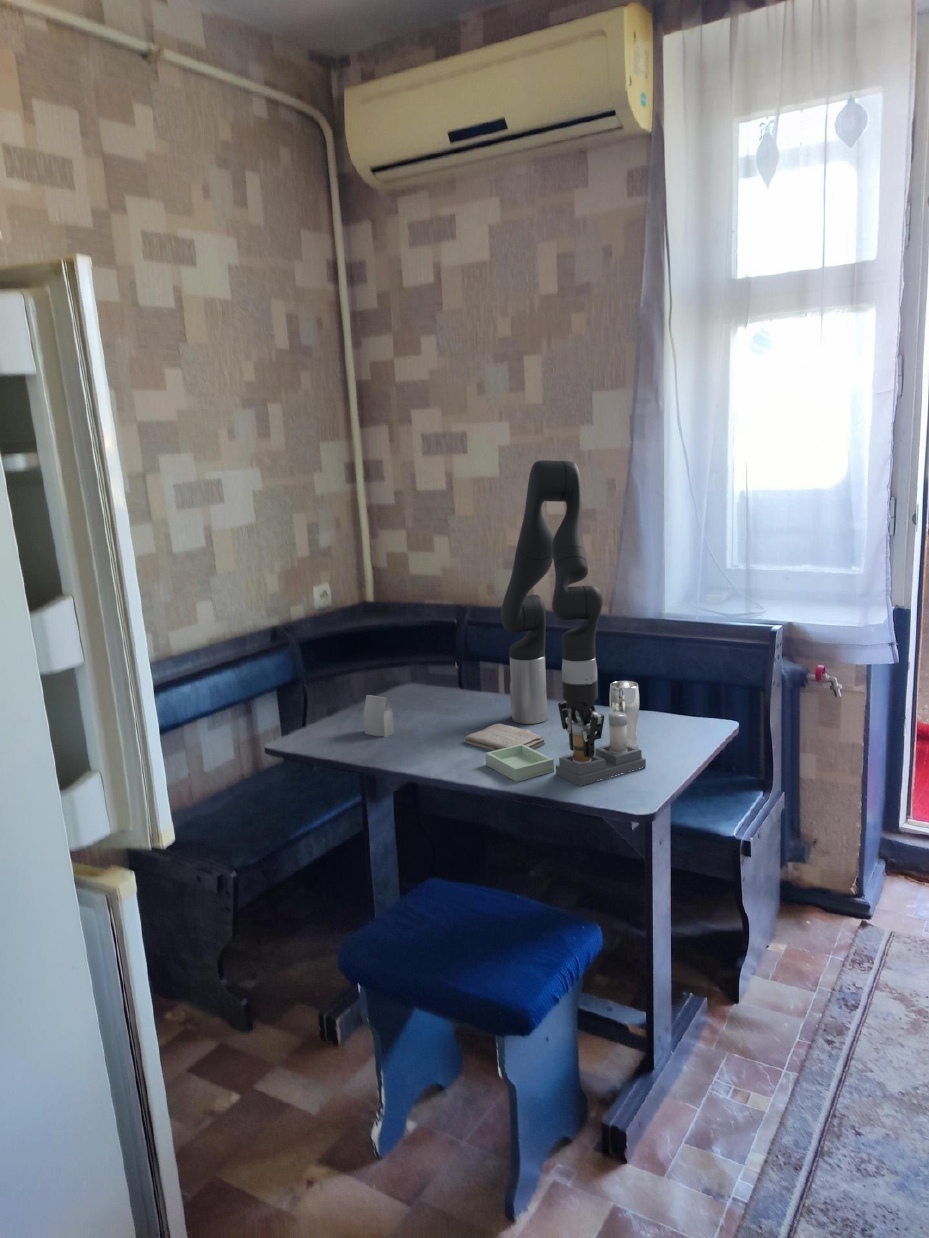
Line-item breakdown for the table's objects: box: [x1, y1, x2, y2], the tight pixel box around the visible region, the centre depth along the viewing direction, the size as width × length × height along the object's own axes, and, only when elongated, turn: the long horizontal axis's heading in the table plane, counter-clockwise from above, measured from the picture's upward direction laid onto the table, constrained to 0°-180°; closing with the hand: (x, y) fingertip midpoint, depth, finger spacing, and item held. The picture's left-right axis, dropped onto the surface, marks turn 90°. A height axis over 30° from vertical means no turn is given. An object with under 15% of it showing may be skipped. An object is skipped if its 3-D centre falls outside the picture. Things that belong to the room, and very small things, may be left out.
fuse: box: [608, 712, 628, 755], centre depth 202 cm, size 4×4×10 cm
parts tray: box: [485, 744, 555, 782], centre depth 206 cm, size 13×10×3 cm
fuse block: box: [555, 743, 647, 786], centre depth 201 cm, size 9×18×4 cm, turn 119°
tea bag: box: [362, 694, 395, 738], centre depth 235 cm, size 4×7×10 cm, turn 56°
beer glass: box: [609, 680, 640, 748], centre depth 216 cm, size 7×7×15 cm
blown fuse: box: [572, 722, 592, 765], centre depth 198 cm, size 4×4×10 cm
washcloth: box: [464, 723, 546, 751], centre depth 223 cm, size 12×18×3 cm, turn 45°
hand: (582, 752), depth 198 cm, fingers open, 4 cm apart
